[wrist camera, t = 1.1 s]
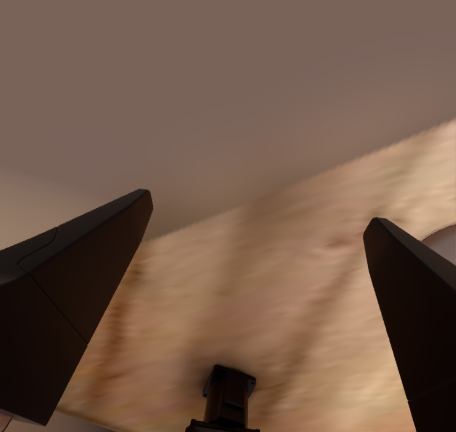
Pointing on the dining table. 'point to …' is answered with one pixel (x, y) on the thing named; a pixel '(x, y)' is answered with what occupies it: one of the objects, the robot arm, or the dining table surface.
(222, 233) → the dining table surface
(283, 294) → the dining table surface
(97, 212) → the robot arm
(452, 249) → the grey-brown round disc
